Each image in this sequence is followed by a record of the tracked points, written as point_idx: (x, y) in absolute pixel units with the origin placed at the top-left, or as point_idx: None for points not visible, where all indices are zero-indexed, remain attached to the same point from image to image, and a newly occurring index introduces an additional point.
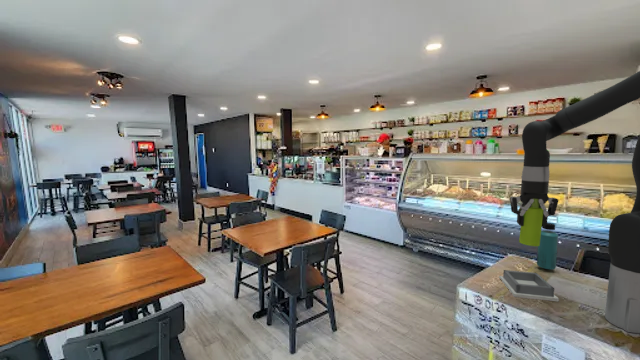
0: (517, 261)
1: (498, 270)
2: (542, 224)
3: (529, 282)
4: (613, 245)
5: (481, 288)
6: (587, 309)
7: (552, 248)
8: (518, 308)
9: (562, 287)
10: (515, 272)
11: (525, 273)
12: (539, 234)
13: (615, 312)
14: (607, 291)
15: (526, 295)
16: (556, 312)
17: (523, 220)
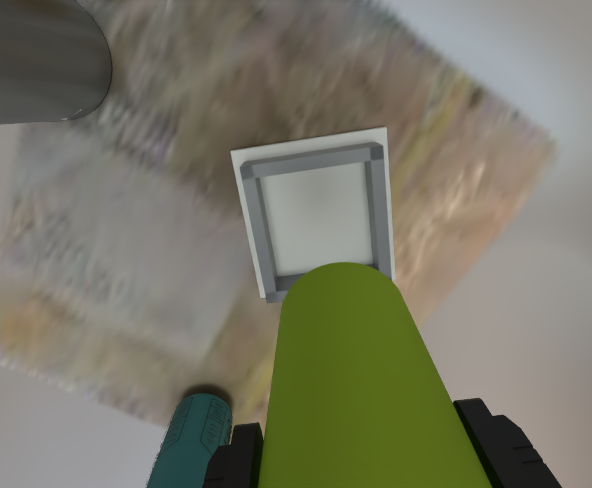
0: None
1: None
2: (256, 450)
3: (297, 259)
4: None
5: (492, 154)
6: (151, 124)
7: (168, 472)
8: (397, 21)
9: (189, 277)
10: None
11: None
12: (296, 331)
13: (67, 12)
14: (46, 73)
15: (341, 134)
16: (263, 49)
17: (491, 457)
